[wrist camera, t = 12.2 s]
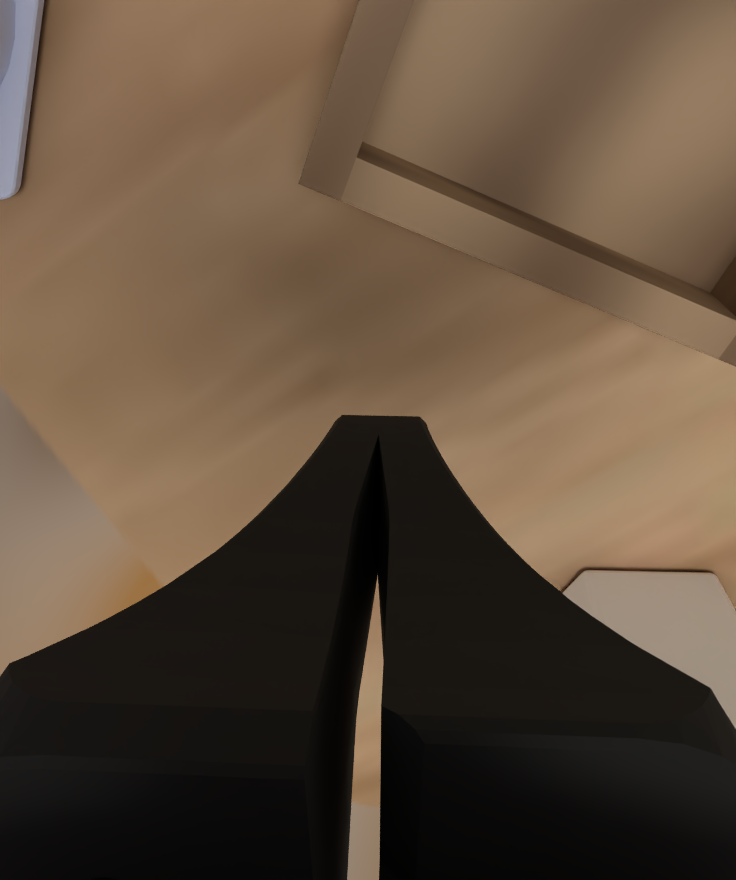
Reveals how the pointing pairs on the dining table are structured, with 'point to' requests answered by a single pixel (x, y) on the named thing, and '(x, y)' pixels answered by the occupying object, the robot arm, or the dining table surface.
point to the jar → (669, 621)
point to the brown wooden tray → (552, 146)
